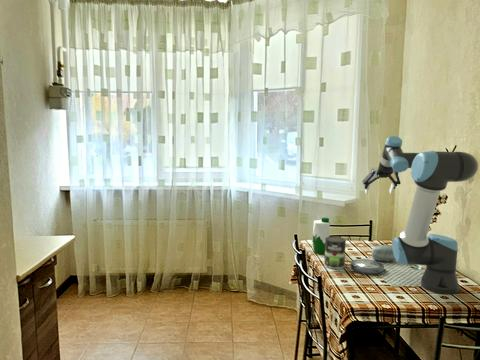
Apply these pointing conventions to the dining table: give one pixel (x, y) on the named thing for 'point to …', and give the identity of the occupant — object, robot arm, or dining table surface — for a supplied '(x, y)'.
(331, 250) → the coffee can
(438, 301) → the dining table surface
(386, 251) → the gray rounded cylinder
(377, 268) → the plate
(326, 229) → the milk carton
